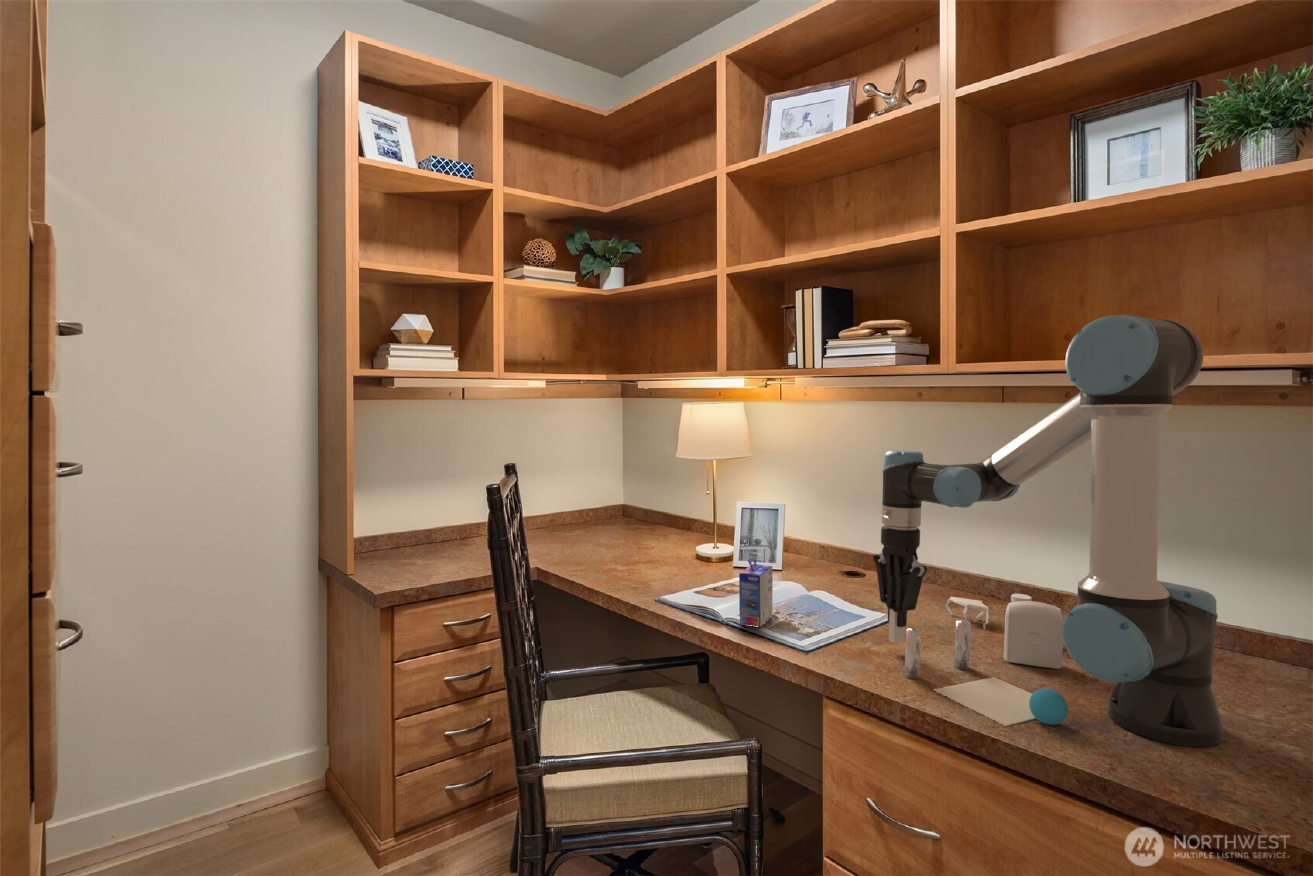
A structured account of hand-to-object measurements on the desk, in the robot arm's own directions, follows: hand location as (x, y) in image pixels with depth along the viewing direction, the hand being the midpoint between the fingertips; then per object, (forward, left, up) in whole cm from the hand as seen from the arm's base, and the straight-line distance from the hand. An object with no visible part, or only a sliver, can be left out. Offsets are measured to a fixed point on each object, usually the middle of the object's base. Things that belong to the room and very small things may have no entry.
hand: (896, 640), depth 147 cm
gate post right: (-11, -6, -2) cm, 13 cm away
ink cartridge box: (+28, +16, -3) cm, 32 cm away
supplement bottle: (-4, -31, -3) cm, 31 cm away
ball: (-34, 0, 0) cm, 34 cm away
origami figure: (+10, -31, -3) cm, 33 cm away
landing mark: (-25, 0, -2) cm, 25 cm away
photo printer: (-15, -21, -3) cm, 26 cm away
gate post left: (-11, +6, -2) cm, 13 cm away
